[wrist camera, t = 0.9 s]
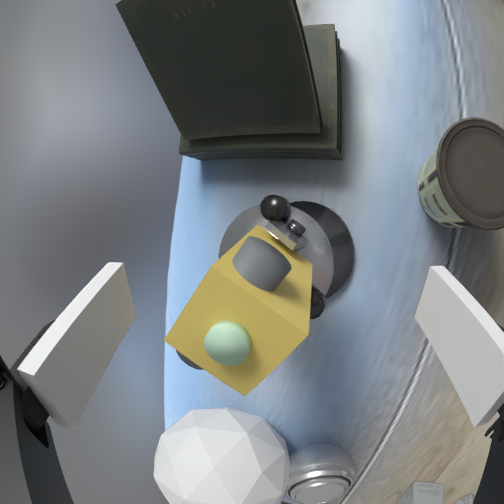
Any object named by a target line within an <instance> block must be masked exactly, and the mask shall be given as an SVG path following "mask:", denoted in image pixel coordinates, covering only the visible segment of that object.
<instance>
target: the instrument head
mask: <svg viewBox="0 0 504 504" xmlns="http://www.w3.org/2000/svg"><path fill="white" fill-rule="evenodd" d="M311 286H312V264H311V263H310V262H309V261H307V260H306V259H305V258H303V257H302V256H301V255H299V254H298V253H297V252H295V251H294V250H291V249H290V248H288V247H287V246H286V245H285V244H284V243H283V242H281V241H280V240H279V239H277V238H276V237H275V236H273V235H272V234H270V233H269V232H268V231H266V230H265V229H264V228H262V227H261V226H259V225H258V224H257V225H256V226H255V227H254V228H253V229H252V230H251V231H250V232H249V233H247V234H246V235H245V236H244V237H243V238H242V239H241V240H240V241H239V242H237V243H236V244H235V245H234V246H233V247H232V248H231V249H230V250H229V251H228V252H226V253H225V254H224V255H223V256H222V257H221V258H220V259H219V260H218V261H217V262H215V263H214V264H213V265H212V266H211V268H210V269H209V271H208V272H207V274H206V275H205V277H204V278H203V280H202V282H201V283H200V285H199V286H198V288H197V289H196V291H195V292H194V294H193V295H192V297H191V298H190V300H189V302H188V303H187V305H186V306H185V308H184V309H183V311H182V313H181V314H180V316H179V317H178V319H177V320H176V322H175V324H174V325H173V327H172V328H171V330H170V331H169V333H168V335H167V336H166V338H165V339H164V341H165V342H167V343H168V344H169V345H171V346H172V347H173V348H175V349H176V351H177V354H178V355H179V357H180V358H181V359H182V361H183V362H185V363H186V364H187V365H189V366H191V367H193V368H195V369H200V370H206V371H207V372H209V373H210V374H212V375H213V376H215V377H216V378H218V379H219V380H221V381H222V382H224V383H225V384H227V385H228V386H230V387H231V388H233V389H235V390H236V391H238V392H239V393H241V394H243V395H244V396H246V395H247V394H248V393H249V392H250V391H251V390H252V389H254V388H255V387H256V386H257V385H258V384H259V383H260V382H261V381H262V380H263V379H264V378H265V377H266V376H268V375H269V374H270V373H271V372H272V371H273V370H274V369H275V368H276V367H277V366H278V365H279V364H280V363H281V362H282V361H283V360H284V359H285V358H286V357H287V356H288V355H289V354H290V353H291V352H292V351H293V350H294V349H295V348H296V347H297V346H298V345H299V344H300V343H301V342H302V341H303V340H304V339H305V338H306V337H307V336H308V335H309V322H310V305H311Z"/></svg>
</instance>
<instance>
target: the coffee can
mask: <svg viewBox="0 0 504 504" xmlns="http://www.w3.org/2000/svg"><path fill="white" fill-rule="evenodd" d="M417 187H418V195H419V199H420V202H421V204H422V206H423V208H424V210H425V211H426V213H427V214H428V215H429V216H430V217H431V218H432V219H433V220H434V221H436V222H437V223H439V224H441V225H443V226H446V227H451V228H457V227H467V228H479V229H483V230H498V229H501V228H504V129H503V128H501V127H500V126H499V125H497V124H495V123H493V122H491V121H489V120H486V119H483V118H476V117H471V118H465V119H461V120H459V121H457V122H456V123H454V124H453V125H451V126H450V127H449V128H448V130H447V131H446V132H445V134H444V135H443V137H442V139H441V141H440V143H439V145H438V146H437V148H436V149H435V151H434V152H433V153H432V155H431V156H430V158H429V159H428V160H427V161H426V162H425V163H424V165H423V166H422V168H421V170H420V173H419V177H418V183H417Z"/></svg>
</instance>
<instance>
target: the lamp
mask: <svg viewBox="0 0 504 504" xmlns="http://www.w3.org/2000/svg"><path fill="white" fill-rule="evenodd" d="M354 473H355V470H354V464H353V462H352V459H351V458H350V456H349V455H348V454H347V453H346V452H345V451H344V450H343V449H341V448H339V447H337V446H335V445H332V444H326V443H317V444H311V445H308V446H305V447H303V448H301V449H299V450H297V451H296V452H295V453H293V454H292V455H291V456H290V457H289V453H288V449H287V445H286V441H285V440H284V439H283V438H282V437H281V436H280V435H279V434H278V433H277V432H276V431H275V430H274V428H273V427H272V426H271V425H270V424H269V423H268V422H267V421H266V420H265V419H264V418H262V417H258V416H255V415H252V414H249V413H246V412H243V411H240V410H237V409H234V408H231V407H225V408H212V409H197V410H191V411H189V412H188V413H187V414H186V415H184V416H183V417H182V418H181V419H179V420H178V421H177V422H175V423H174V424H173V425H172V426H170V427H169V428H168V429H167V430H166V431H165V432H164V433H163V434H162V435H161V437H160V440H159V443H158V447H157V450H156V454H155V461H154V478H155V480H156V482H157V484H158V486H159V488H160V490H161V491H162V493H163V494H164V496H165V497H166V499H167V500H168V502H169V503H170V504H281V502H282V499H283V497H284V495H285V493H286V495H287V496H288V497H289V498H291V499H293V500H296V501H297V502H299V503H303V504H321V503H326V502H330V501H333V500H335V499H337V498H339V497H341V496H342V495H343V494H344V493H345V492H346V491H348V490H349V489H350V488H351V486H352V484H353V482H354Z"/></svg>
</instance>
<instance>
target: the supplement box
mask: <svg viewBox="0 0 504 504" xmlns="http://www.w3.org/2000/svg"><path fill="white" fill-rule="evenodd" d="M397 504H443V484H436V483H426V482H416V481H415V482H414V483H413V484H412V485H411V486H410V488H409V489H408V490H407V491H406V492H405V493H404V494H403V495H402V496H401V497H400V498H399V499H398V501H397Z"/></svg>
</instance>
